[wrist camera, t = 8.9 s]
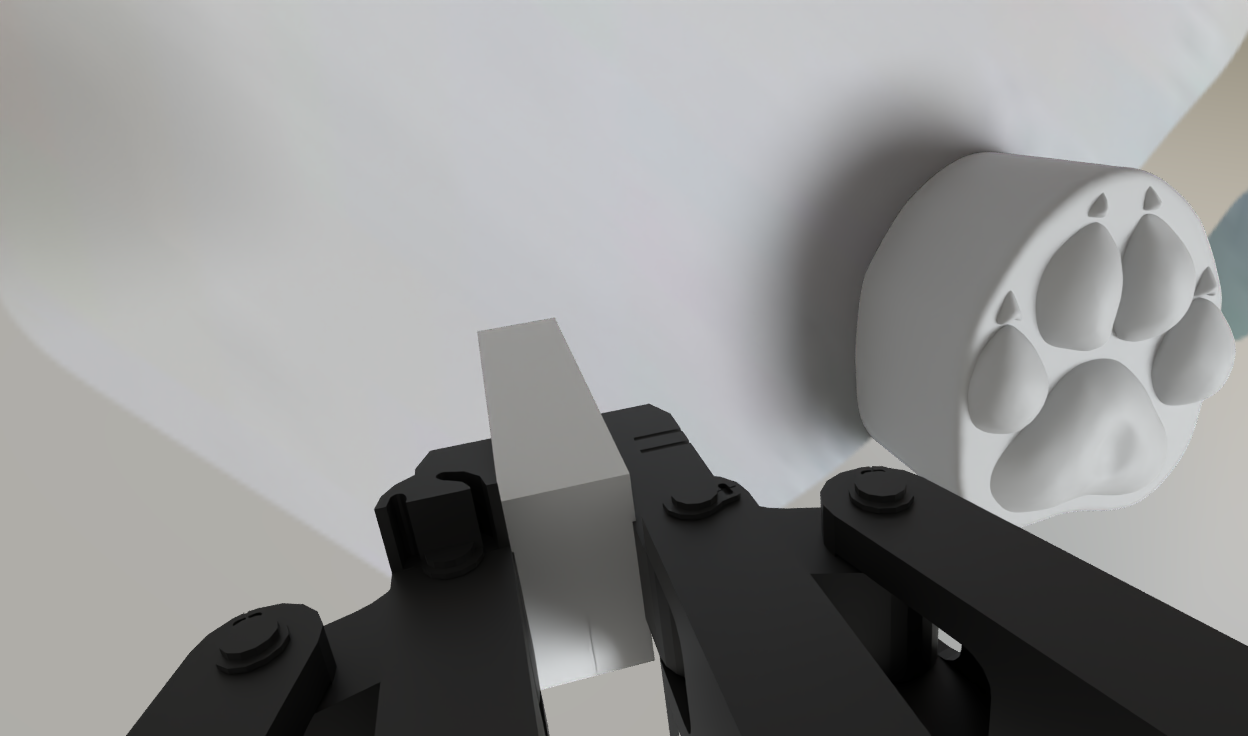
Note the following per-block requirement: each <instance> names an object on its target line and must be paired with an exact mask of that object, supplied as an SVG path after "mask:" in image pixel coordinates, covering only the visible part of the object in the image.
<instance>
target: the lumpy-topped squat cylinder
mask: <svg viewBox="0 0 1248 736" xmlns="http://www.w3.org/2000/svg"><path fill="white" fill-rule="evenodd" d="M1221 300H1222V295H1221V287H1220V281H1219V277H1218V273H1217V268H1216V264H1215V260H1214V257H1213V253H1212V250H1211V246H1210V243H1209V241H1208V237H1207V235H1206V232H1205V229H1204V226H1203V224H1202V222H1201V220H1200V219H1199V217H1198V215H1197V214H1196V212H1195V211H1194V210H1193V208H1192V207H1191V205H1190V204H1189V203H1188V202H1187V201H1186V200H1185V198H1184V197H1183V196H1182V195H1181V194H1180V193H1178V192H1177V191H1176V190H1175V189H1174V188H1173V187H1172V186H1171V185H1169V184H1168V183H1167V182H1165V181H1164V180H1163V179H1161V178H1160V177H1158V176H1156V175H1154V174H1152V173H1149V172H1147V171H1143V170H1140V169H1135V168H1128V167H1117V166H1109V165H1101V164H1094V163H1085V162H1077V161H1068V160H1061V159H1052V158H1043V157H1034V156H1025V155H1016V154H1007V153H998V152H981V153H975V154H971V155H968V156H965V157H962V158H960V159H958V160H956V161H954V162H952V163H951V164H949V165H948V166H946V167H945V168H943V169H942V170H941V171H939V172H938V173H937V174H935V175H934V176H933V177H932V178H931V179H930V180H928V181H927V182H926V183H925V184H924V185H923V186H922V187H921V188H920V189H919V190H918V191H917V192H916V193H915V194H914V195H913V196H912V197H911V198H910V199H909V200H908V202H907V203H906V204H905V205H904V207H903V208H902V210H901V211H900V212H899V214H898V215H897V217H896V218H895V220H894V222H893V223H892V225H891V227H890V228H889V230H888V232H887V233H886V235H885V237H884V238H883V240H882V242H881V244H880V246H879V247H878V249H877V251H876V253H875V255H874V257H873V259H872V261H871V263H870V265H869V267H868V269H867V271H866V274H865V277H864V280H863V284H862V289H861V295H860V301H859V309H858V319H857V330H856V348H855V369H856V389H857V403H858V409H859V413H860V417H861V420H862V422H863V424H864V426H865V428H866V430H867V431H868V433H869V434H870V435H871V436H872V437H873V439H874V440H876V441H877V442H878V443H879V444H881V445H882V446H883V447H884V448H885V449H887V450H888V451H889V452H890V453H892V454H893V455H894V456H895V457H897V458H898V459H899V460H900V461H901V462H903V463H904V464H905V465H906V466H908V467H909V468H910V469H911V470H913V471H914V472H915V473H916V474H917V475H919V476H921V477H924V478H926V479H927V480H929V481H931V482H933V483H935V484H937V485H939V486H941V487H943V488H945V489H947V490H949V491H950V492H952V493H954V494H956V495H958V496H960V497H962V498H964V499H966V500H968V501H970V502H972V503H974V504H975V505H977V506H979V507H981V508H983V509H985V510H987V511H989V512H991V513H993V514H995V515H997V516H999V517H1000V518H1002V519H1004V520H1006V521H1008V522H1010V523H1012V524H1014V525H1016V526H1018V527H1024V526H1027V525H1031V524H1033V523H1036V522H1039V521H1042V520H1045V519H1047V518H1050V517H1053V516H1056V515H1060V514H1064V513H1068V512H1075V511H1107V510H1115V509H1120V508H1124V507H1128V506H1131V505H1133V504H1135V503H1138V502H1140V501H1141V500H1143V499H1144V498H1146V497H1147V496H1148V495H1150V494H1151V493H1152V492H1153V491H1154V490H1155V489H1157V488H1158V487H1159V486H1160V485H1161V483H1162V482H1163V481H1164V480H1165V479H1166V477H1167V476H1168V475H1169V474H1170V473H1171V472H1172V470H1173V469H1174V468H1175V466H1176V465H1177V463H1178V462H1179V460H1180V459H1181V457H1182V456H1183V454H1184V452H1185V450H1186V448H1187V446H1188V444H1189V442H1190V440H1191V437H1192V435H1193V432H1194V428H1195V425H1196V423H1197V419H1198V415H1199V412H1200V408H1201V404H1202V401H1203V400H1204V399H1206V398H1208V397H1210V396H1212V395H1213V394H1215V393H1216V392H1217V391H1219V390H1220V389H1221V387H1222V386H1223V385H1224V383H1225V382H1226V380H1227V378H1228V377H1229V375H1230V372H1231V370H1232V367H1233V364H1234V359H1235V352H1236V351H1235V350H1236V349H1235V340H1234V337H1233V334H1232V331H1231V329H1230V327H1229V324H1228V322H1227V321H1226V319H1225V317H1224V315H1223V314H1222V312H1221Z"/></svg>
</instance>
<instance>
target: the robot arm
mask: <svg viewBox="0 0 1248 736" xmlns="http://www.w3.org/2000/svg"><path fill="white" fill-rule="evenodd" d="M477 333H478V341H479V349H480V356H481V364H482V372H483V379H484V387H485V395H486V402H487V410H488V418H489V425H490V433H491V439H486V440H481V441H476V442H471V443H466V444H461V445H456V446H452V447H447V448H442V449H437V450H432V451H430V452H429V453H428V454H427V455H426V457H425V458H424V459H423V460H422V462H421V463H420V464H419V465H418V466H417V468H416V469H415V475H414V476H412V477H410V478H408V479H406V480H404V481H402V482H400V483H398V484H396V485H394V486H393V487H392V488H391V489H390V490H388V491H387V492H386V493H385V494H384V495H382V496H381V497H380V499H379V501H378V503H377V505H376V507H375V509H374V510H375V514H376V518H377V521H378V525H379V528H380V532H381V535H382V539H383V543H384V546H385V550H386V553H387V557H388V560H389V564H390V568H391V571H392V579H391V588H390V590H389V591H388V592H387V593H386V594H384V595H383V596H382V597H380V598H379V599H377V600H376V601H374V602H373V603H372V604H370V605H368V606H366V607H364V608H362V609H360V610H359V611H356V612H354V613H352V614H350V615H348V616H345V617H343V618H341V619H339V620H336V621H334V622H332V623H329V624H327V625H325V626H323V623H322V621H321V618H320V616H319V614H318V612H317V611H315V610H313V609H311V608H309V607H308V606H305V605H304V604H285V603H282V604H277V605H272V606H267V607H262V608H258V609H255V610H252V611H249V612H248V613H246V614H241V615H239V616H237V617H235V618H233V619H231V620H230V621H228V622H227V623H225V624H224V625H222V626H221V627H219V628H217V629H216V630H214V631H213V632H211V633H210V634H208V635H207V636H206V637H205V638H204V639H203V640H202V641H201V642H200V643H199V644H198V645H197V646H196V647H195V648H194V649H193V650H192V651H191V652H190V653H189V655H188V656H187V657H186V658H185V660H184V661H183V662H182V664H181V665H180V666H179V668H178V669H177V670H176V671H175V673H174V674H173V675H172V677H171V678H170V679H169V681H168V682H167V683H166V685H165V686H164V687H163V688H162V690H161V691H160V692H159V694H158V695H157V696H156V697H155V699H154V700H153V701H152V703H151V704H150V705H149V707H148V708H147V709H146V710H145V712H144V713H143V714H142V716H141V717H140V718H139V720H138V721H137V722H136V724H135V725H134V726H133V728H132V729H131V730H130V731H129V733H128V734H127V735H126V736H549V731H548V724H547V719H546V714H545V709H544V704H543V700H542V695H541V690H542V689H546V688H550V687H553V686H558V685H561V684H565V683H569V682H573V681H577V680H581V679H585V678H588V677H592V676H596V675H600V674H604V673H608V672H611V671H615V670H619V669H623V668H627V667H631V666H635V665H639V664H642V663H646V662H650V661H654V651H653V644H652V637H653V639H654V642H655V644H656V647H657V650H658V652H659V655H660V662H661V669H662V677H663V685H664V692H665V700H666V707H667V714H668V722H669V730H670V736H679V733H680V735H681V736H1248V646H1246V645H1244V644H1242V643H1241V642H1239V641H1237V640H1235V639H1233V638H1231V637H1229V636H1227V635H1225V634H1223V633H1221V632H1219V631H1218V630H1216V629H1214V628H1212V627H1210V626H1208V625H1206V624H1204V623H1202V622H1200V621H1198V620H1196V619H1194V618H1192V617H1191V616H1189V615H1187V614H1185V613H1183V612H1181V611H1179V610H1177V609H1175V608H1173V607H1171V606H1169V605H1168V604H1166V603H1164V602H1162V601H1160V600H1158V599H1156V598H1154V597H1152V596H1150V595H1148V594H1146V593H1145V592H1142V591H1141V590H1139V589H1137V588H1135V587H1133V586H1131V585H1129V584H1127V583H1125V582H1123V581H1121V580H1119V579H1118V578H1116V577H1114V576H1112V575H1110V574H1108V573H1106V572H1104V571H1102V570H1100V569H1098V568H1096V567H1095V566H1093V565H1091V564H1089V563H1087V562H1085V561H1083V560H1081V559H1079V558H1077V557H1075V556H1073V555H1072V554H1070V553H1067V552H1066V551H1064V550H1062V549H1060V548H1058V547H1056V546H1054V545H1052V544H1050V543H1048V542H1047V541H1044V540H1043V539H1041V538H1039V537H1037V536H1035V535H1033V534H1031V533H1029V532H1027V531H1025V530H1023V529H1021V528H1020V527H1018V526H1016V525H1014V524H1012V523H1010V522H1008V521H1006V520H1004V519H1002V518H1000V517H999V516H997V515H995V514H993V513H991V512H989V511H987V510H985V509H983V508H981V507H979V506H977V505H975V504H974V503H972V502H970V501H968V500H966V499H964V498H962V497H960V496H958V495H956V494H954V493H952V492H950V491H949V490H947V489H945V488H943V487H941V486H939V485H937V484H935V483H933V482H931V481H929V480H927V479H926V478H924V477H921V476H918V475H915V474H913V473H910V472H907V471H905V470H898V469H891V468H887V467H883V466H872V467H861V468H857V469H854V470H850V471H846V472H842V473H839V474H838V475H836V476H834V477H833V478H831V479H829V480H828V481H827V482H826V483H825V485H824V487H823V488H822V490H821V492H820V496H821V508H790V509H784V508H766V507H761V506H759V505H758V504H757V503H756V501H755V500H754V499H753V497H752V496H751V495H750V493H749V492H748V491H747V490H746V489H744V488H743V487H742V486H741V485H739V484H738V483H737V482H734V481H731V480H728V479H725V478H722V477H717V476H713V474H712V473H711V471H710V470H709V469H708V467H707V466H706V464H705V463H704V461H703V460H702V459H701V457H700V456H699V454H698V453H697V451H696V450H695V448H694V447H693V446H692V444H691V443H689V440H688V438H687V437H686V436H685V434H684V433H683V431H681V429H680V427H679V426H678V424H677V423H676V421H675V420H674V418H673V417H672V415H671V414H670V413H668V412H666V411H663V410H661V409H659V408H657V407H655V406H653V405H651V404H646V405H641V406H636V407H631V408H626V409H621V410H616V411H611V412H607V413H602V414H601V413H600V411H599V409H598V407H597V405H596V403H595V401H594V399H593V397H592V395H591V392H590V390H589V388H588V386H587V384H586V382H585V380H584V378H583V376H582V374H581V372H580V370H579V367H578V365H577V363H576V361H575V359H574V357H573V355H572V353H571V351H570V349H569V347H568V345H567V343H566V340H565V338H564V336H563V334H562V332H561V330H560V328H559V326H558V324H557V322H556V320H555V318H550V319H544V320H539V321H533V322H528V323H522V324H517V325H511V326H506V327H500V328H495V329H489V330H484V331H478V332H477ZM938 628H940V629H941V630H942V631H944V632H945V633H947V634H948V635H949V636H951V637H952V638H953V639H955V640H956V641H958V642H959V643H960V644H962V649H961V652H958V651H956V650H954V649H952V648H950V647H949V646H947V645H946V644H945V643H943V642H942V641H941V640H939V639H938ZM651 634H652V636H651Z"/></svg>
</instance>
